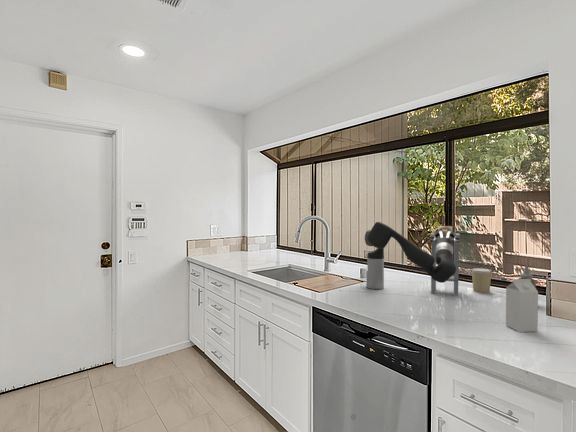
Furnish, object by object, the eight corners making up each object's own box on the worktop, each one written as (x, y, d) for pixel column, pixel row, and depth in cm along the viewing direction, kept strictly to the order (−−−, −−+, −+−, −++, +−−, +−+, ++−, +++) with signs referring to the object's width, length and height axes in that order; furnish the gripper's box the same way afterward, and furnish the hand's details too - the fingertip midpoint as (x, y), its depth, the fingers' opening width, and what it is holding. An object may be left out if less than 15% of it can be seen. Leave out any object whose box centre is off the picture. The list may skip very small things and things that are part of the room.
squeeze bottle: (532, 302, 157) (533, 265, 157) (539, 307, 149) (540, 268, 149) (513, 301, 160) (513, 264, 159) (518, 306, 152) (519, 267, 152)
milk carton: (505, 325, 127) (506, 277, 127) (522, 324, 128) (523, 277, 127) (519, 332, 120) (520, 281, 120) (537, 331, 121) (538, 281, 120)
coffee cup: (485, 289, 182) (486, 268, 182) (494, 293, 173) (495, 271, 173) (468, 289, 183) (468, 268, 183) (476, 293, 174) (476, 271, 174)
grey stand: (430, 293, 175) (430, 234, 174) (431, 289, 184) (431, 232, 183) (459, 296, 169) (459, 234, 168) (458, 291, 178) (459, 233, 177)
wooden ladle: (436, 234, 164) (437, 228, 164) (438, 231, 181) (438, 226, 181) (452, 234, 161) (452, 228, 161) (452, 231, 178) (452, 226, 178)
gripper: (428, 254, 160) (430, 234, 173) (460, 256, 154) (459, 235, 167) (428, 242, 157) (430, 222, 170) (460, 243, 150) (460, 223, 163)
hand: (444, 228), depth 168 cm, fingers closed on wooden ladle, 2 cm apart
